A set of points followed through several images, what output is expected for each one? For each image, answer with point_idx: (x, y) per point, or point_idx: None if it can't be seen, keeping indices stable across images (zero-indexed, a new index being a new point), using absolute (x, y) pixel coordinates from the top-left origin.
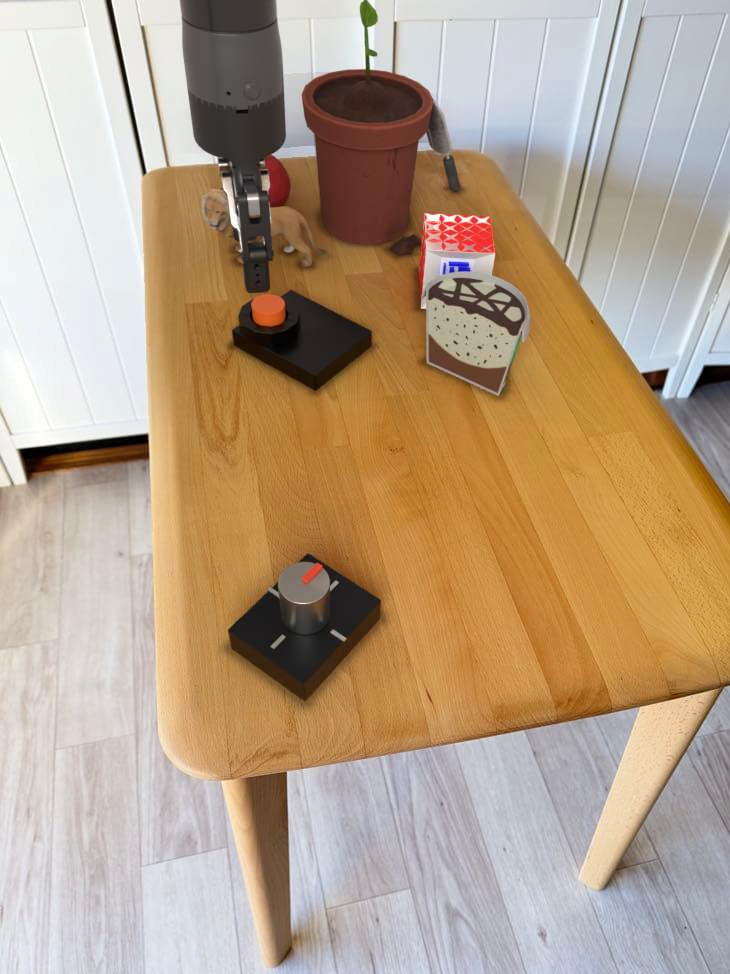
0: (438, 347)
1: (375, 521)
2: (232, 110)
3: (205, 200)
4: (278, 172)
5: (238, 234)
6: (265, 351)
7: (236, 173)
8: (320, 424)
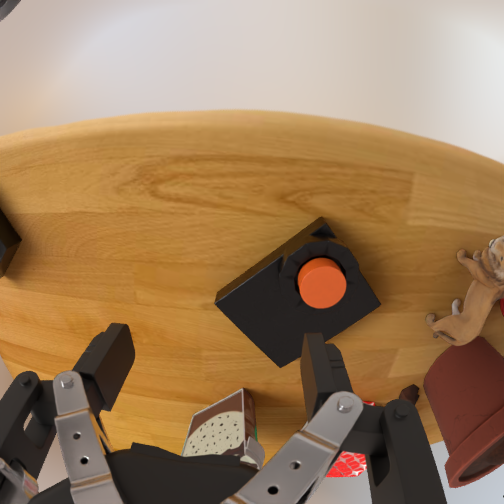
0: (234, 408)
1: (62, 297)
2: None
3: None
4: None
5: (81, 404)
6: (276, 256)
7: None
8: (166, 285)
